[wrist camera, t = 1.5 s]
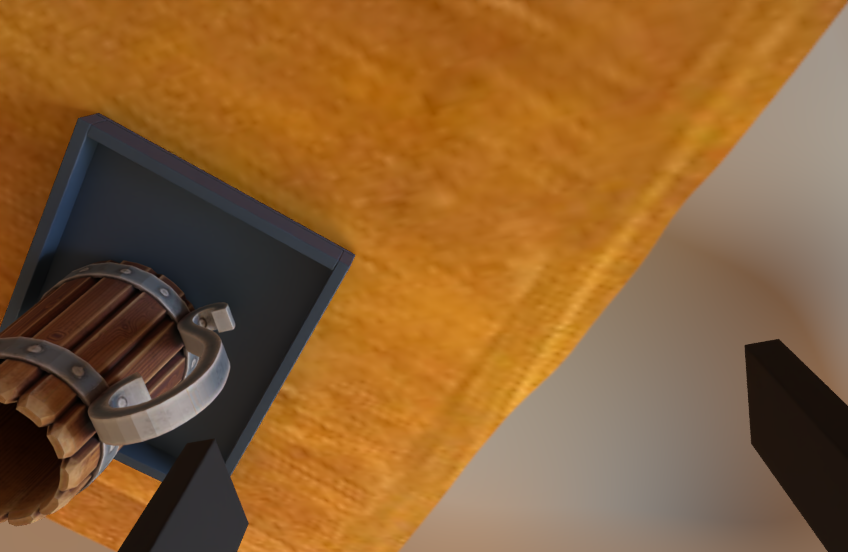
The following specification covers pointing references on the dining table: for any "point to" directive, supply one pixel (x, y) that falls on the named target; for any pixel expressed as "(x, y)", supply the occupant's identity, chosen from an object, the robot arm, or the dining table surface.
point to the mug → (99, 379)
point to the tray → (187, 269)
